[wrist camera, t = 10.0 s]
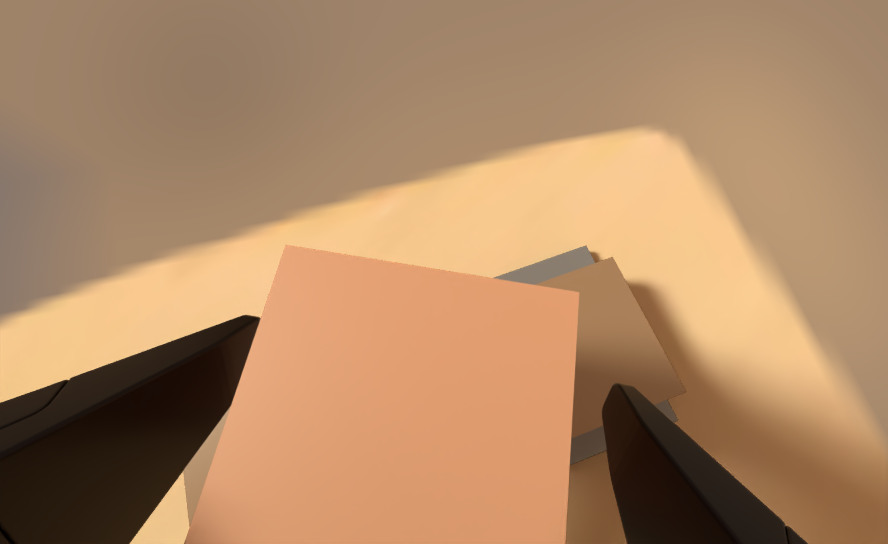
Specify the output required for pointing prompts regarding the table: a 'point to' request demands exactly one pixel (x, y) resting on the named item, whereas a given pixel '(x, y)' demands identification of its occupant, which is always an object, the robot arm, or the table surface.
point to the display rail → (597, 355)
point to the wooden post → (397, 411)
